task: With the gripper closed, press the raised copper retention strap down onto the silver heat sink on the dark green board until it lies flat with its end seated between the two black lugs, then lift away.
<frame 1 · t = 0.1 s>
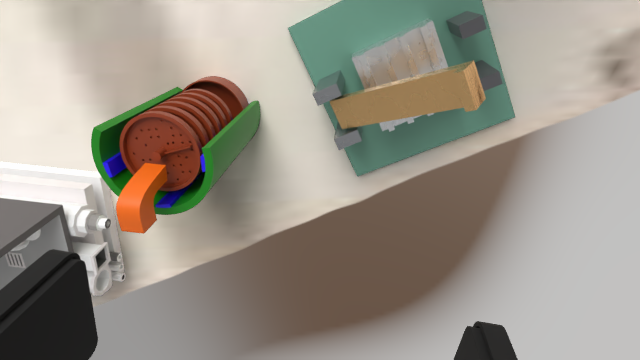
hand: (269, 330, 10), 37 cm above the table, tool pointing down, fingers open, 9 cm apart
heat sink: (385, 88, 40), point 4 cm above the table
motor: (218, 114, 47), on the table
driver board: (402, 71, 43), on the table
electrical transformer: (66, 218, 56), on the table
strap: (395, 102, 34), point 10 cm above the table, hinge at 35.0°
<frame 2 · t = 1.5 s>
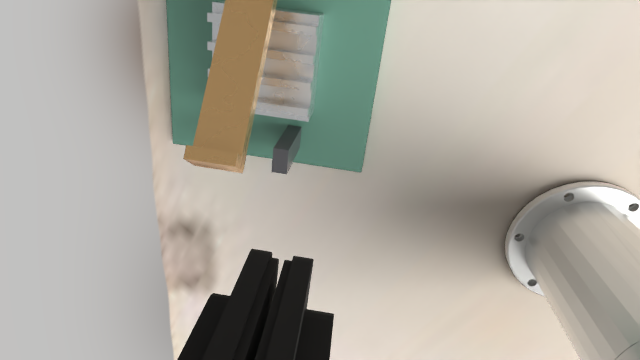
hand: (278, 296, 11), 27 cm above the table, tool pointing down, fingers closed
heat sink: (263, 36, 30), point 4 cm above the table
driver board: (274, 57, 35), on the table
strap: (237, 55, 25), point 10 cm above the table, hinge at 35.0°
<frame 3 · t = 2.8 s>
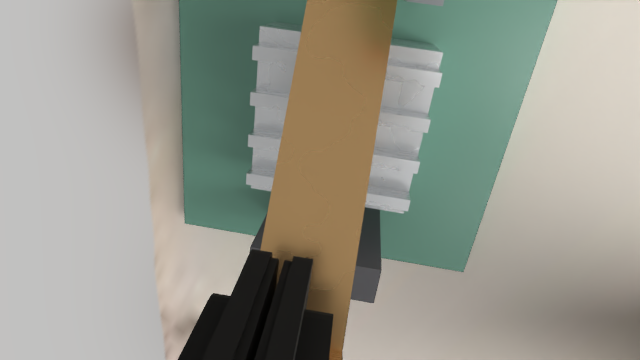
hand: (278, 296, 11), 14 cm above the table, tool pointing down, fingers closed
heat sink: (343, 84, 18), point 4 cm above the table
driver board: (343, 105, 23), on the table
strap: (327, 144, 13), point 10 cm above the table, hinge at 32.8°, touching gripper
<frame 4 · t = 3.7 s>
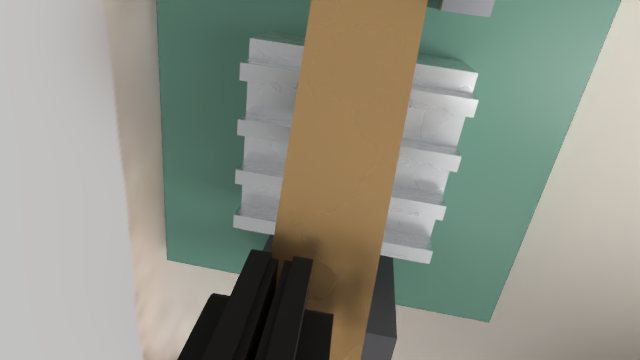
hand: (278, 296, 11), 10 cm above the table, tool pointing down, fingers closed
heat sink: (352, 110, 15), point 4 cm above the table
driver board: (351, 129, 19), on the table
strap: (333, 206, 11), point 9 cm above the table, hinge at 19.6°, touching gripper
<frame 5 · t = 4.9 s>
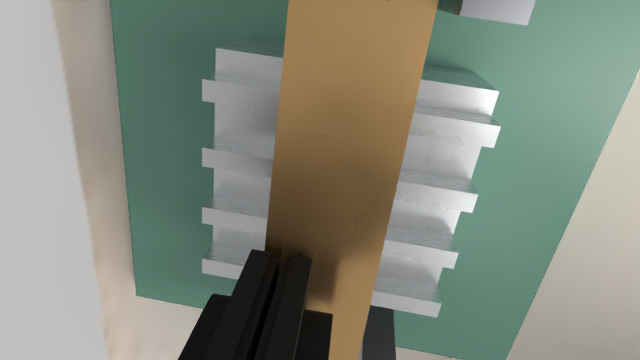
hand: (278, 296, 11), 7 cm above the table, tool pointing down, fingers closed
heat sink: (343, 135, 12), point 4 cm above the table
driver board: (343, 151, 17), on the table
strap: (323, 243, 10), point 7 cm above the table, hinge at 3.7°, touching gripper
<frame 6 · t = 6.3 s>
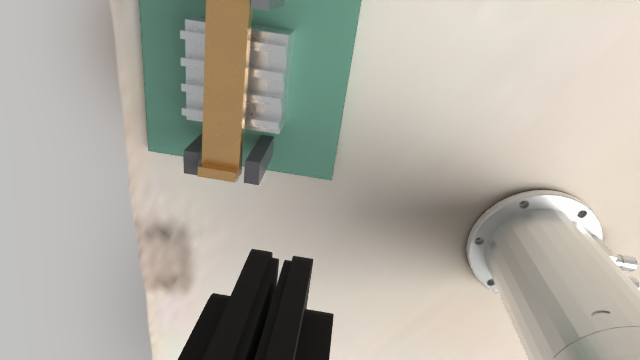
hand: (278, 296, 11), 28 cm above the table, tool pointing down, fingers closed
heat sink: (234, 53, 31), point 4 cm above the table
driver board: (247, 69, 36), on the table
strap: (223, 87, 30), point 7 cm above the table, hinge at 3.6°
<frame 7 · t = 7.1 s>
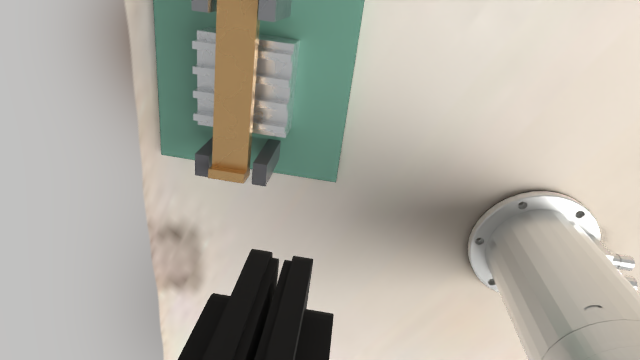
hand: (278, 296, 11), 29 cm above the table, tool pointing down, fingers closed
heat sink: (243, 61, 33), point 4 cm above the table
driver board: (255, 77, 38), on the table
strap: (233, 94, 32), point 7 cm above the table, hinge at 3.6°
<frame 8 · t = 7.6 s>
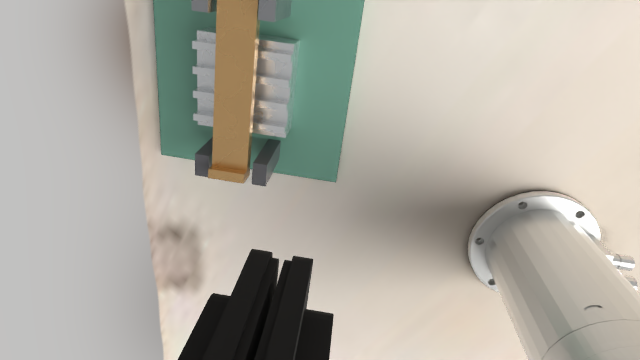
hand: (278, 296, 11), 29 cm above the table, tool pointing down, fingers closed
heat sink: (243, 61, 33), point 4 cm above the table
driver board: (255, 77, 38), on the table
strap: (233, 94, 32), point 7 cm above the table, hinge at 3.6°
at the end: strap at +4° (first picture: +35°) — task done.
